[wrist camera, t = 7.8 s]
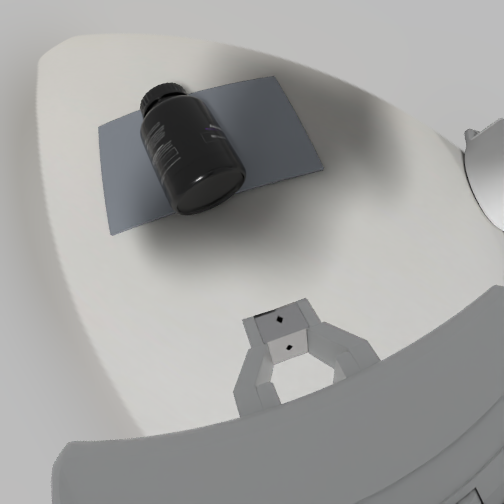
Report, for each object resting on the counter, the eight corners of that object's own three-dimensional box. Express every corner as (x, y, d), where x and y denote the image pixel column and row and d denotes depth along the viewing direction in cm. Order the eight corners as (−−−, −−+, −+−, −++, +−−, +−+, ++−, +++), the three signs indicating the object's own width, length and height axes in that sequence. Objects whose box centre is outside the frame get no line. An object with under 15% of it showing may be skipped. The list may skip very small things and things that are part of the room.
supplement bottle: (258, 158, 20) (195, 65, 21) (171, 192, 18) (124, 86, 19) (241, 197, 26) (191, 111, 27) (175, 226, 24) (133, 131, 25)
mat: (273, 78, 29) (274, 76, 29) (322, 170, 27) (323, 168, 26) (99, 128, 27) (98, 127, 26) (112, 235, 24) (110, 234, 24)
